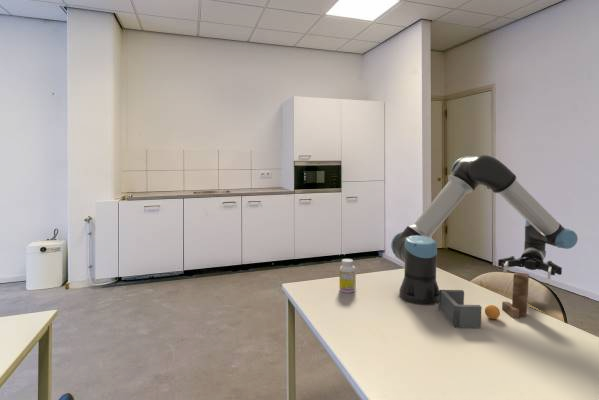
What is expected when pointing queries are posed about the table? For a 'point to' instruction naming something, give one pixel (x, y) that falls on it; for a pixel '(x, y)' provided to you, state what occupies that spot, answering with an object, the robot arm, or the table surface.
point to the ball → (492, 312)
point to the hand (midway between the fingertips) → (526, 271)
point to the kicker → (518, 296)
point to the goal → (459, 309)
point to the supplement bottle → (347, 276)
